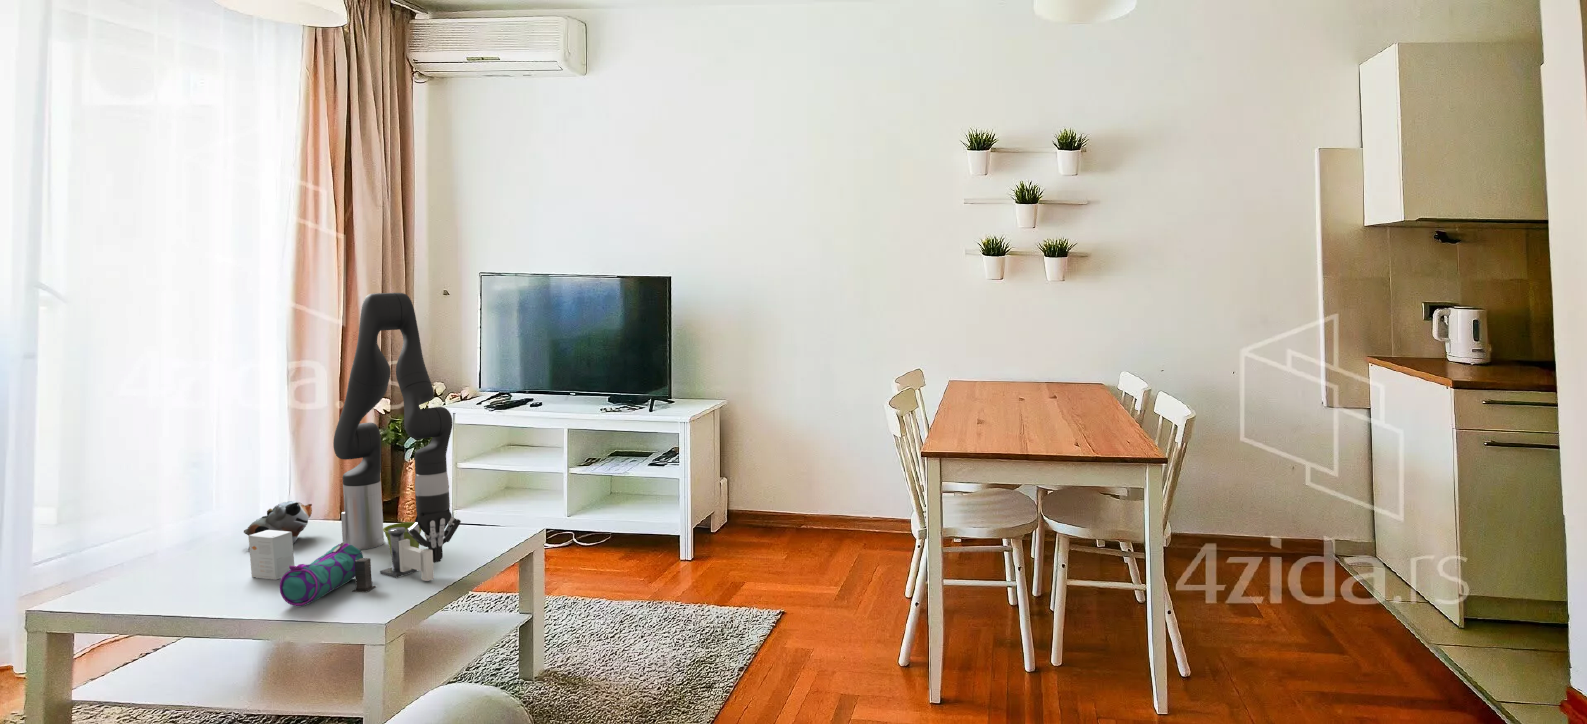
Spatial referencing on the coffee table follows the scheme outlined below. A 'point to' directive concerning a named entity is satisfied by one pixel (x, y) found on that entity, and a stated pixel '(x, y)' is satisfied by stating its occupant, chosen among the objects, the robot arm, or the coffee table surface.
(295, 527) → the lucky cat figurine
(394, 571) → the post
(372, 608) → the coffee table surface
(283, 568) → the small box
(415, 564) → the gate
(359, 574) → the post
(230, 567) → the coffee table surface
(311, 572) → the pencil case
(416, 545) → the plant pot
